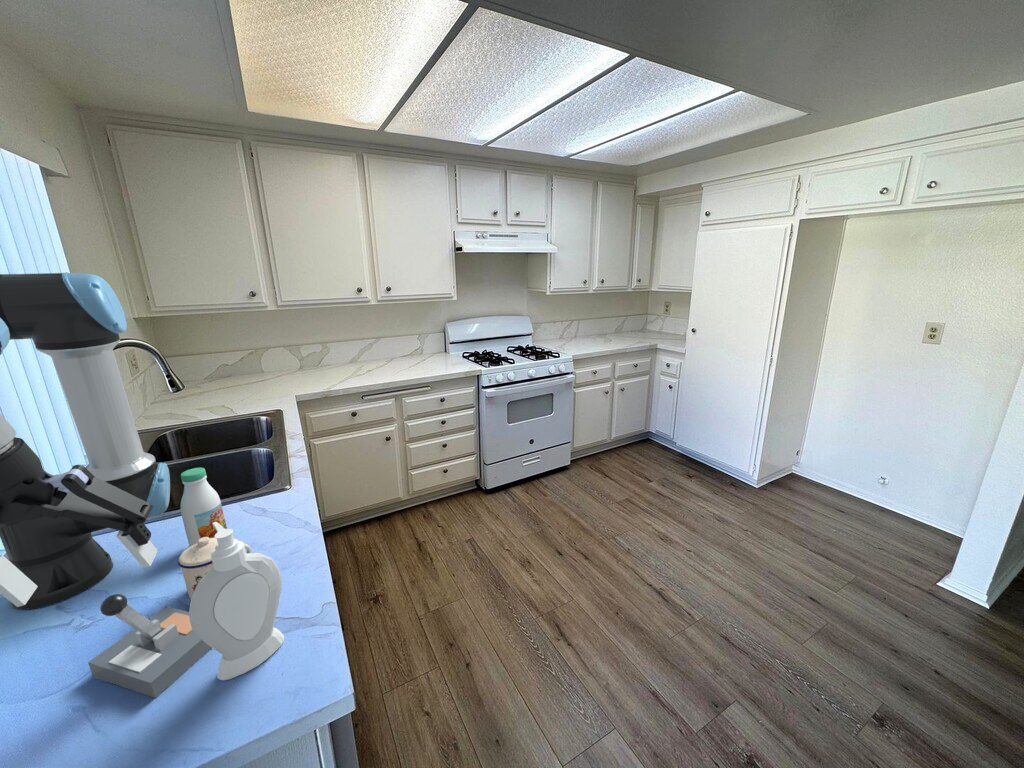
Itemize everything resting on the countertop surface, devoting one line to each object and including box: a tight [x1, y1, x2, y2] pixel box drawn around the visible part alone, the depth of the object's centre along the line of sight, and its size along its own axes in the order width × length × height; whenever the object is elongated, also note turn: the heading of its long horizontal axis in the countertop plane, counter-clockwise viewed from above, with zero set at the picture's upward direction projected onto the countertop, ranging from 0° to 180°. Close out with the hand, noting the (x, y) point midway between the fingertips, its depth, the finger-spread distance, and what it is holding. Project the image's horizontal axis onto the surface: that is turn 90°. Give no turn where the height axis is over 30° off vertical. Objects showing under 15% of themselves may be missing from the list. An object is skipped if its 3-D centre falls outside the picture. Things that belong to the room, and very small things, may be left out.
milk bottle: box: [180, 467, 228, 548], centre depth 97 cm, size 8×8×20 cm
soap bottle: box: [188, 522, 285, 681], centre depth 67 cm, size 13×8×24 cm, turn 140°
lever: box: [100, 593, 163, 642], centre depth 66 cm, size 3×3×13 cm
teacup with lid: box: [177, 537, 252, 600], centre depth 85 cm, size 12×9×12 cm
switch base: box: [87, 606, 213, 699], centre depth 70 cm, size 12×14×5 cm
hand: (91, 577), depth 54 cm, fingers open, 13 cm apart
